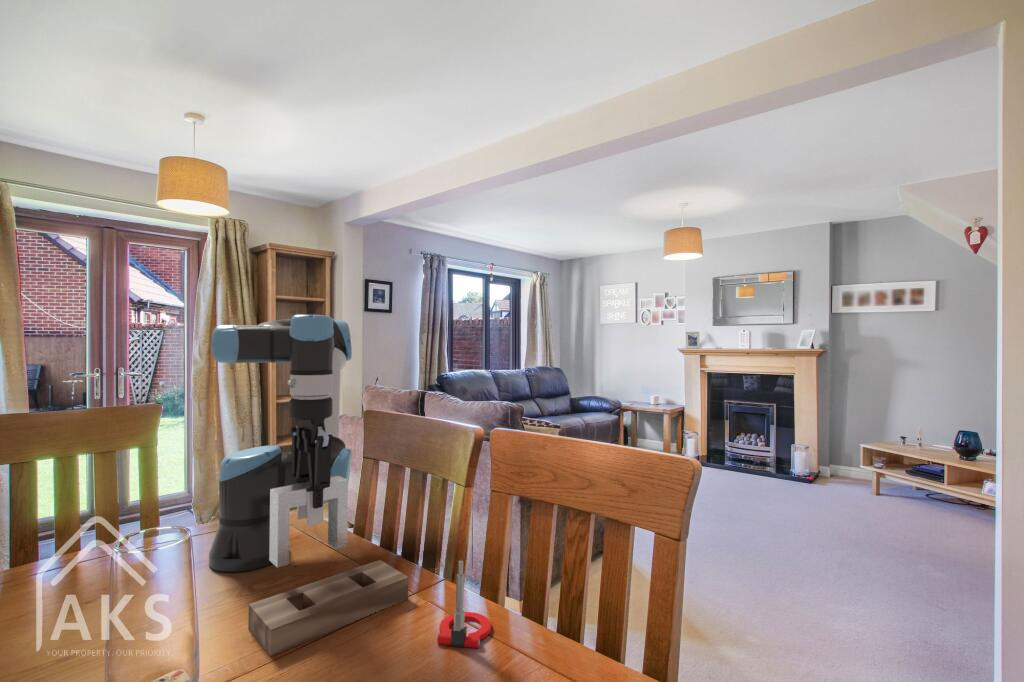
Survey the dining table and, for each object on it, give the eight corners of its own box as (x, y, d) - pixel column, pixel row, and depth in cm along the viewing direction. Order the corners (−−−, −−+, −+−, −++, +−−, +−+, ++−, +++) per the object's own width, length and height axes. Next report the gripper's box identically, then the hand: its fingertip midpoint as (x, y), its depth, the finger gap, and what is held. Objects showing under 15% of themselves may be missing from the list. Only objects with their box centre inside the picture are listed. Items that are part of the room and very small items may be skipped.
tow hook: (447, 616, 86) (430, 645, 77) (449, 540, 86) (433, 561, 77) (495, 621, 84) (483, 651, 75) (496, 544, 85) (485, 565, 76)
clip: (269, 560, 90) (270, 489, 90) (337, 540, 99) (338, 475, 99) (277, 567, 87) (278, 494, 87) (347, 546, 96) (347, 479, 96)
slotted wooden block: (248, 628, 81) (248, 604, 81) (380, 580, 98) (380, 559, 98) (270, 656, 73) (270, 629, 73) (408, 598, 90) (408, 577, 90)
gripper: (273, 394, 96) (272, 513, 96) (310, 402, 84) (308, 539, 84) (312, 391, 102) (310, 505, 102) (351, 399, 89) (350, 528, 90)
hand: (309, 520), depth 93 cm, fingers closed on clip, 4 cm apart
